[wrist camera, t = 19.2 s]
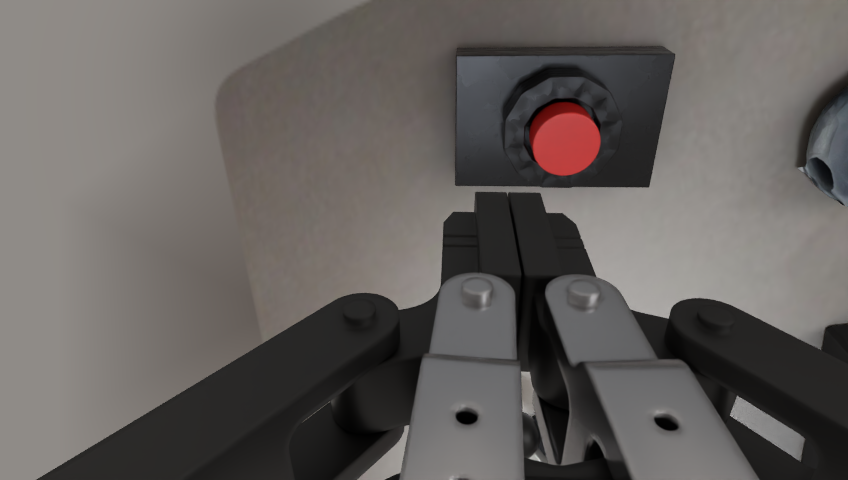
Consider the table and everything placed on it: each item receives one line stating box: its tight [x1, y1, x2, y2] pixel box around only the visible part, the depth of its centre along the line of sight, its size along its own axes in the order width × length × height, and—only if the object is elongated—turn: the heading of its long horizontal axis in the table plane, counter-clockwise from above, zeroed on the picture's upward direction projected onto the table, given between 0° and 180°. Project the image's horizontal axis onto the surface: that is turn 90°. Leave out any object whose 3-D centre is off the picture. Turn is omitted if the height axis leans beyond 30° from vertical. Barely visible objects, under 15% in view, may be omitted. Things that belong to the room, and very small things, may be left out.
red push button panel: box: [455, 46, 675, 188], centre depth 33 cm, size 12×8×4 cm, turn 91°
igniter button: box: [529, 102, 601, 176], centre depth 31 cm, size 4×4×2 cm
